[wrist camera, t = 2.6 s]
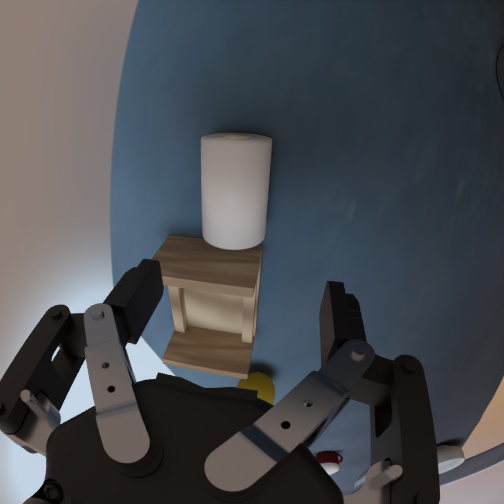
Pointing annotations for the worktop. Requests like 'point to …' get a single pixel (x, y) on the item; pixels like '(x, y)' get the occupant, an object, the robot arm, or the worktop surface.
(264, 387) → the lemon
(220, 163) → the paper roll
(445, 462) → the cereal bowl
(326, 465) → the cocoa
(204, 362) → the roll holder
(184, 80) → the worktop surface
